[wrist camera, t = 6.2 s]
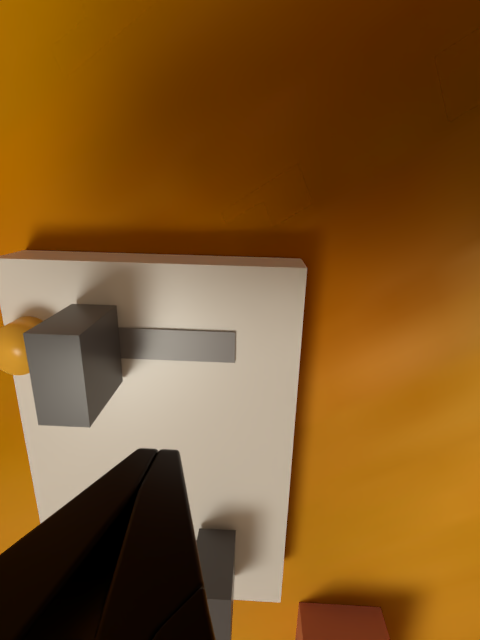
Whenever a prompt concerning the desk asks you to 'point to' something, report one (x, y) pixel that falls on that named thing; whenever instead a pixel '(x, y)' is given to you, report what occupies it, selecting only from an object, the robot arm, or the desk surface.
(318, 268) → the desk surface
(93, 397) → the lever tagged
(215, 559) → the lever
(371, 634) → the block
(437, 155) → the desk surface
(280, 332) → the panel
